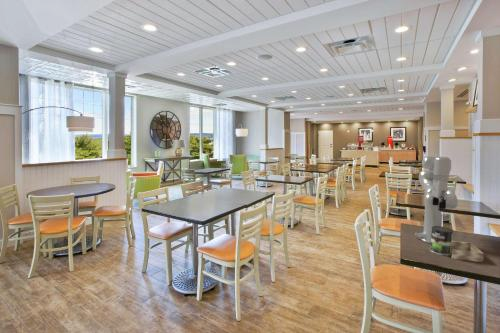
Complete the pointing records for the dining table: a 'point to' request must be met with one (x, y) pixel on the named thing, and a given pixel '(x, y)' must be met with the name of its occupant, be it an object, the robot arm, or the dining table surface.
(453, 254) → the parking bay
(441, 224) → the robot arm
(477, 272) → the dining table surface
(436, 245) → the coffee can
